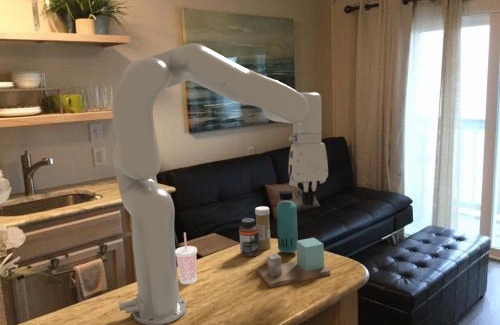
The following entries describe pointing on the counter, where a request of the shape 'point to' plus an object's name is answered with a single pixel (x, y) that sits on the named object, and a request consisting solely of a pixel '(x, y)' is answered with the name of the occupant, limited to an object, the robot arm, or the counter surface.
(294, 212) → the beverage bottle
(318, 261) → the pale aqua cube
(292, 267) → the post board
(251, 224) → the supplement bottle
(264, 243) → the sprinkles bottle
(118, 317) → the counter surface
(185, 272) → the beverage cup
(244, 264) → the counter surface
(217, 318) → the counter surface
